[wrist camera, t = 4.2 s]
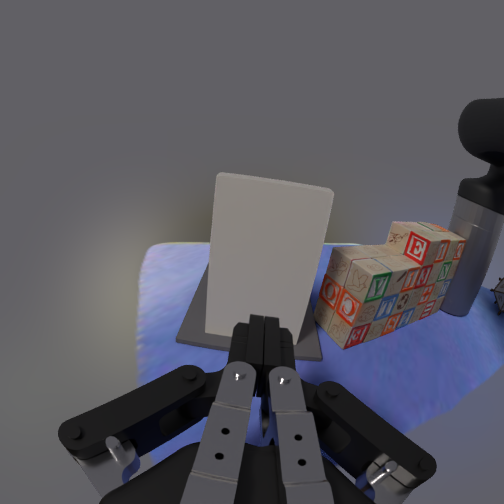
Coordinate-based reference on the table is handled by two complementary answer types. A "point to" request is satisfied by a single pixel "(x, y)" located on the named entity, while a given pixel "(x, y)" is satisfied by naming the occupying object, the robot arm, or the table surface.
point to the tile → (264, 250)
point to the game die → (499, 295)
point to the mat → (196, 336)
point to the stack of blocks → (387, 282)
